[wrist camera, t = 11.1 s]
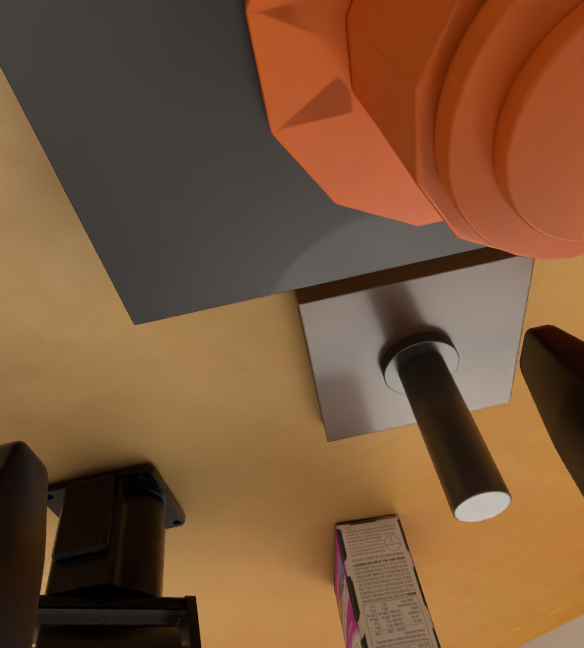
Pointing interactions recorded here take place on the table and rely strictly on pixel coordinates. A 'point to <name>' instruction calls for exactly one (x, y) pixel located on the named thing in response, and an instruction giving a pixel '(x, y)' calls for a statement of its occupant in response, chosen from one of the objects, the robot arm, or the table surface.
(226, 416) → the table surface
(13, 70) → the tv stand
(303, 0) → the hat
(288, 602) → the table surface
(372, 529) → the candy bar box
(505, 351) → the hat stand
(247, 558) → the table surface
